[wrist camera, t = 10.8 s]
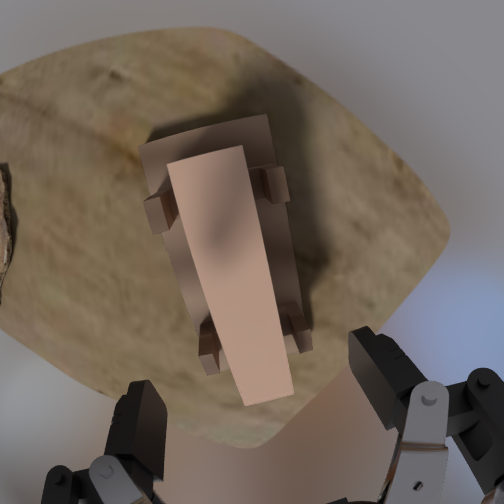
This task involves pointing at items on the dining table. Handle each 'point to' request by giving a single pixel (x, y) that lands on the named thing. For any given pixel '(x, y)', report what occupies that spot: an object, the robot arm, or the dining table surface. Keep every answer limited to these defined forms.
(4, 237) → the pottery shard
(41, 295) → the dining table surface
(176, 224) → the brown cradle stand
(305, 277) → the dining table surface
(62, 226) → the dining table surface
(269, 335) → the clay bar
